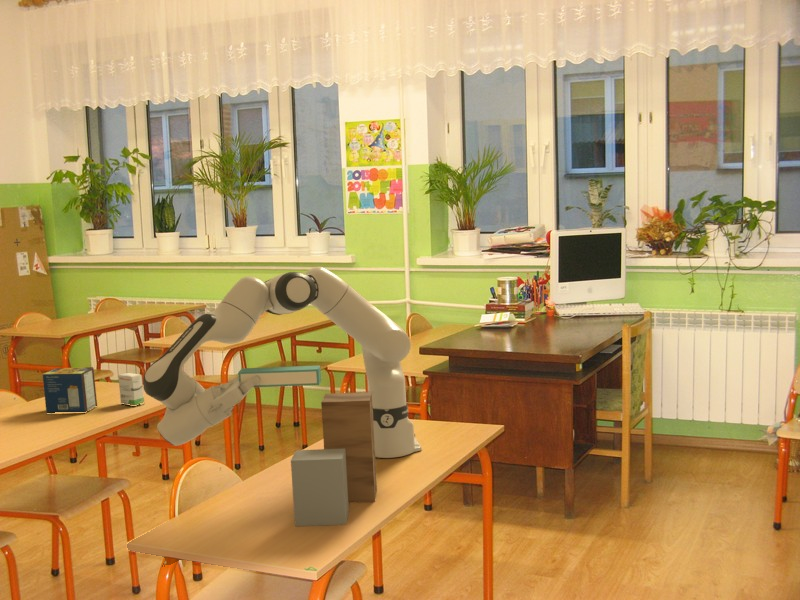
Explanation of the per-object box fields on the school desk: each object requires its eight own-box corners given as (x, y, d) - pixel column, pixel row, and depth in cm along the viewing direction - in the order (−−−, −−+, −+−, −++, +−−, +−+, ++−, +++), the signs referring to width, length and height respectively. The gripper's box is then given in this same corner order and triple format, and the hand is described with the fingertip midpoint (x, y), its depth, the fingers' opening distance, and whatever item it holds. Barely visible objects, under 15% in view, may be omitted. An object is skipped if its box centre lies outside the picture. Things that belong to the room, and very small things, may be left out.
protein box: (59, 407, 338) (55, 367, 336) (97, 406, 337) (94, 366, 335) (45, 415, 328) (41, 373, 326) (85, 414, 326) (81, 372, 324)
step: (299, 513, 217) (295, 450, 215) (348, 512, 216) (345, 448, 214) (295, 526, 209) (290, 460, 207) (345, 524, 208) (342, 458, 206)
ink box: (145, 404, 337) (142, 374, 335) (134, 407, 333) (131, 376, 332) (131, 402, 342) (128, 372, 341) (120, 404, 338) (117, 374, 337)
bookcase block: (331, 490, 232) (325, 393, 228) (377, 489, 231) (371, 391, 228) (327, 503, 223) (321, 402, 220) (374, 501, 222) (369, 400, 219)
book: (243, 383, 226) (242, 368, 226) (321, 380, 225) (320, 365, 225) (239, 387, 222) (238, 372, 221) (319, 385, 221) (318, 369, 220)
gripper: (198, 404, 214) (246, 374, 213) (218, 384, 234) (261, 357, 233) (213, 425, 215) (260, 395, 213) (231, 404, 235) (275, 377, 234)
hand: (261, 375), depth 223 cm, fingers closed on book, 5 cm apart
